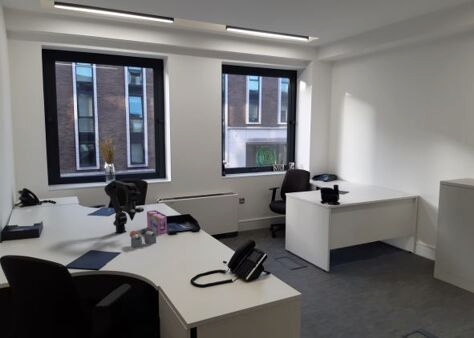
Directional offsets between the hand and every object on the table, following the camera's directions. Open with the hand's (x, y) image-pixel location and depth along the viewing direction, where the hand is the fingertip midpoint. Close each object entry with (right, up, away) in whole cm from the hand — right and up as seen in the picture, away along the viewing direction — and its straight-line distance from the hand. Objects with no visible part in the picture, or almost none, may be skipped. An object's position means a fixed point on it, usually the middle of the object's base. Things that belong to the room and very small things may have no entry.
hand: (131, 220), depth 277 cm
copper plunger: (+9, -10, -22) cm, 25 cm away
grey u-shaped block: (+18, -14, -16) cm, 28 cm away
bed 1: (+10, -15, -23) cm, 29 cm away
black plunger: (+16, -9, -15) cm, 24 cm away
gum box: (+16, -10, +16) cm, 25 cm away
